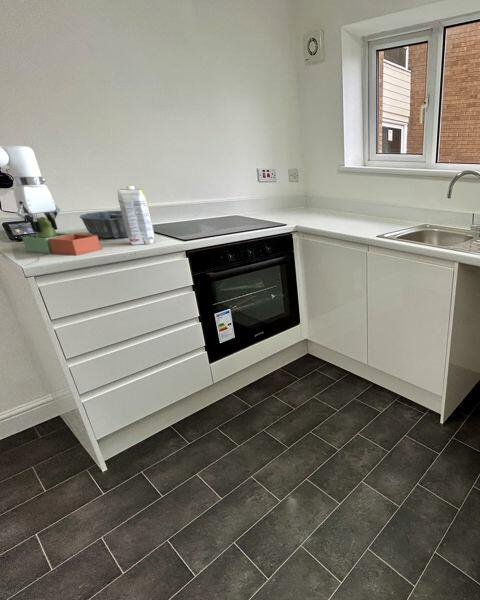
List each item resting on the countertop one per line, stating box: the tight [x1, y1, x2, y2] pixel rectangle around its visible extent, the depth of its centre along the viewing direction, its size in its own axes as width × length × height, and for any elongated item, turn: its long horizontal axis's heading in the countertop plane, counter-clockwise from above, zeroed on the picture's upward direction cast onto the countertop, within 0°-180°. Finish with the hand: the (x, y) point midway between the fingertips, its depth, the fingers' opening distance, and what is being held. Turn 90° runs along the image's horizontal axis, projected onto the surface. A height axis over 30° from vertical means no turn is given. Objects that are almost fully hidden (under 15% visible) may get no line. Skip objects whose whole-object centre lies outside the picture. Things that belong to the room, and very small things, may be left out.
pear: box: [36, 216, 58, 238], centre depth 137 cm, size 6×5×10 cm
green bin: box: [21, 232, 73, 254], centre depth 139 cm, size 10×10×6 cm
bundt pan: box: [79, 210, 128, 239], centre depth 166 cm, size 26×26×10 cm
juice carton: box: [117, 185, 155, 246], centre depth 150 cm, size 9×8×24 cm
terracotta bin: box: [49, 233, 102, 256], centre depth 137 cm, size 10×10×6 cm
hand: (45, 230), depth 137 cm, fingers closed on pear, 4 cm apart
